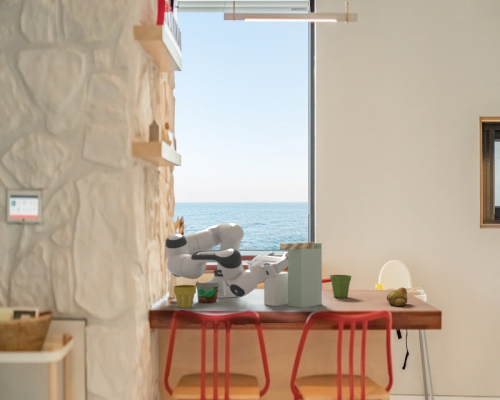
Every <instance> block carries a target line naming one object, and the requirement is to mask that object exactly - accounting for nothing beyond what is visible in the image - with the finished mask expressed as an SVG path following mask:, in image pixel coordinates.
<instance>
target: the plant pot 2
mask: <svg viewBox="0 0 500 400" xmlns="http://www.w3.org/2000/svg"><path fill="white" fill-rule="evenodd" d="M329 277H330V281H331V287H332V295H333V297H334V298H337V299H341V298H342V299H345V298H348V297H349V290H350V283H351V281H352V280H351V279H352V277H353V276H352V275H349V274H330V275H329Z"/></svg>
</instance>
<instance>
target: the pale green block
mask: <svg viewBox="0 0 500 400" xmlns="http://www.w3.org/2000/svg"><path fill="white" fill-rule="evenodd" d="M322 245H323V243H321V242H319V243H318V242H314V248H313V249H296V250H287V253H288V257H287V260H288V262H289V265H288V266H287V272H288V304H287V306H289V307H295V308H300V309H303V308H311V307H315V306H322V305H323V302H322V301H323V296H322V295H323V285H322V283H323V281H322V280H323V279H322V278H323V274H322V272H323V269H322V264H323V263H322V259H323V257H322V256H323V255H322V254H323V253H322V252H323V251H322V249H323V248H322Z"/></svg>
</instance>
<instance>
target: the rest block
mask: <svg viewBox="0 0 500 400" xmlns="http://www.w3.org/2000/svg"><path fill="white" fill-rule="evenodd" d="M277 275H278V276H277V277H276V278H272V279H267V280H264V281H263V282H264V283H263V288H264V289H263V291H264V292H263V295H264V296H263V304H264V305H265V306H266V305H267V306H271V307H277V306H278V307H279V306H283V305H288V271H282V272H281V273H279V274H277Z"/></svg>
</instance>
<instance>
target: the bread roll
mask: <svg viewBox="0 0 500 400" xmlns="http://www.w3.org/2000/svg"><path fill="white" fill-rule="evenodd" d="M386 300H387V302H388V303H389V304H390V305H393V306H395V307H397V306H398V307H399V306H400V307H404V306H405V305H406V304H407V302H408V291H407V289H406V288H405V287H403V286H402V287H399V288H397V289H395V290H390V291H388V292H387V295H386Z"/></svg>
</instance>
